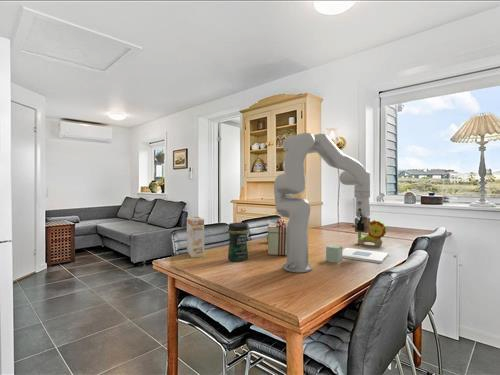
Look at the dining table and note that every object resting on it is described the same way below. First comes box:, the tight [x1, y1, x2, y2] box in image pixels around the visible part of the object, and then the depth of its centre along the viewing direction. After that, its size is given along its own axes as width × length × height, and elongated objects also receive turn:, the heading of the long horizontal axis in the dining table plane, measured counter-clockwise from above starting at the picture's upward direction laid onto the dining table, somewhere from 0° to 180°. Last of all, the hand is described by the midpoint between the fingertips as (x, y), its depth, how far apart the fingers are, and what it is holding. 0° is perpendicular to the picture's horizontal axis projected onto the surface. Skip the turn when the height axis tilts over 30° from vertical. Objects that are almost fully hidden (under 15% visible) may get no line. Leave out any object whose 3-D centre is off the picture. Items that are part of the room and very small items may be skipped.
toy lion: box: [357, 219, 387, 247], centre depth 174 cm, size 16×5×15 cm, turn 58°
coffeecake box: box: [186, 216, 206, 259], centre depth 156 cm, size 15×7×20 cm, turn 22°
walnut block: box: [354, 217, 371, 234], centre depth 149 cm, size 6×6×7 cm
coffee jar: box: [227, 222, 249, 262], centre depth 144 cm, size 10×8×19 cm
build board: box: [342, 247, 390, 264], centre depth 149 cm, size 18×22×1 cm
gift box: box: [267, 219, 288, 256], centre depth 160 cm, size 17×18×17 cm
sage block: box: [325, 244, 343, 264], centre depth 141 cm, size 6×6×7 cm
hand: (362, 229), depth 149 cm, fingers closed on walnut block, 6 cm apart
